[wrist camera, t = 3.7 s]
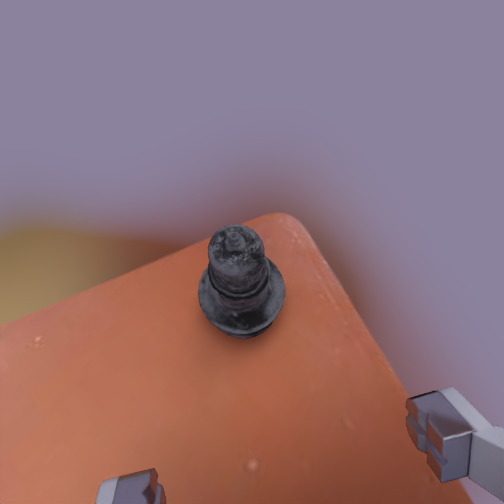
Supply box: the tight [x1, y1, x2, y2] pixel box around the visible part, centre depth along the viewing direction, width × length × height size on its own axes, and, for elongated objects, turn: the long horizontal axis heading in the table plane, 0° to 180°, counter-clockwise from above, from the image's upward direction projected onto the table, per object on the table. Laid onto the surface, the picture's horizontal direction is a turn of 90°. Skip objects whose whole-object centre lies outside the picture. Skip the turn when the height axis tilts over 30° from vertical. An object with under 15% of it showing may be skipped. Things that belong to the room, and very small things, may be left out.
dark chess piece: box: [198, 225, 285, 338], centre depth 21 cm, size 6×6×12 cm
